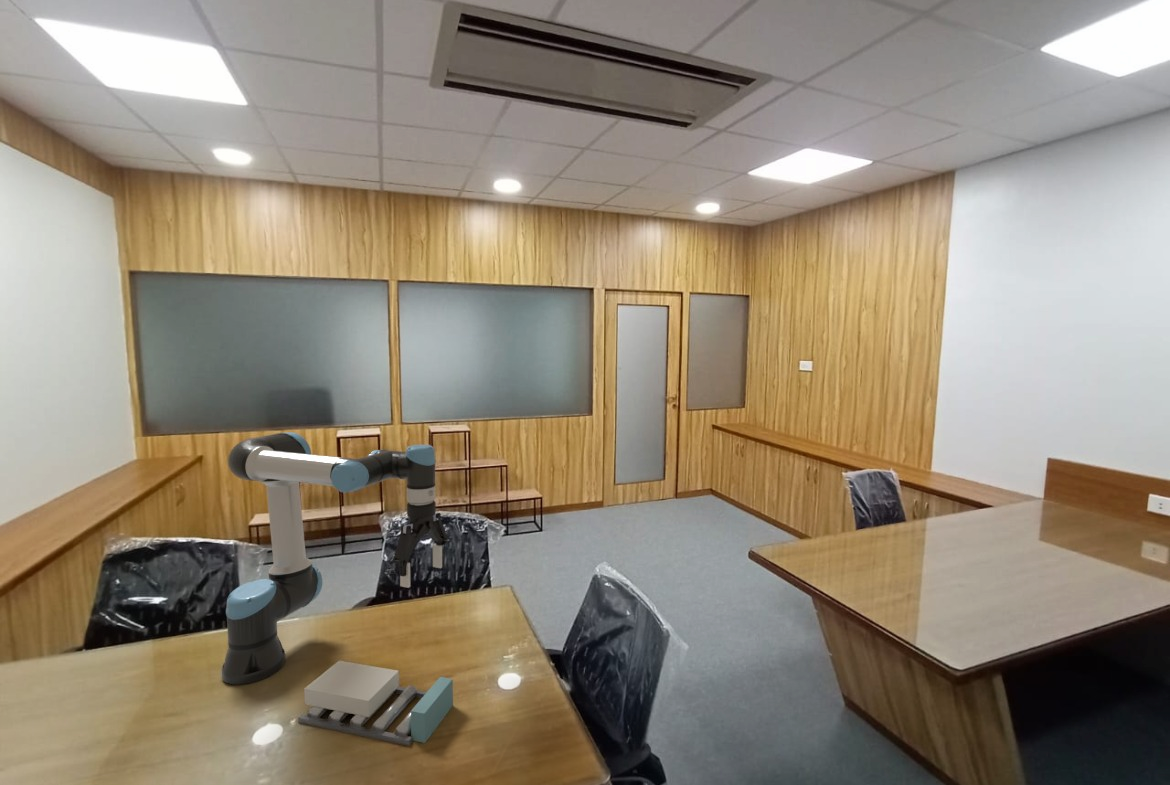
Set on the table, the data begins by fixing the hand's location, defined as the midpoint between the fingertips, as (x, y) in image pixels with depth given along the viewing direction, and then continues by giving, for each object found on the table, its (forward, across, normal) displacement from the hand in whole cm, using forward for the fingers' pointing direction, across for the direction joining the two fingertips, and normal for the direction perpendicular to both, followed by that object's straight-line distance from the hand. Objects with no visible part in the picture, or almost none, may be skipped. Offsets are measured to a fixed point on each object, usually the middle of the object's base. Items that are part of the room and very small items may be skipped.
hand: (422, 576), depth 144 cm
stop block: (+26, -16, -16) cm, 35 cm away
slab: (+24, -19, +6) cm, 31 cm away
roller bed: (+27, -19, 0) cm, 33 cm away
